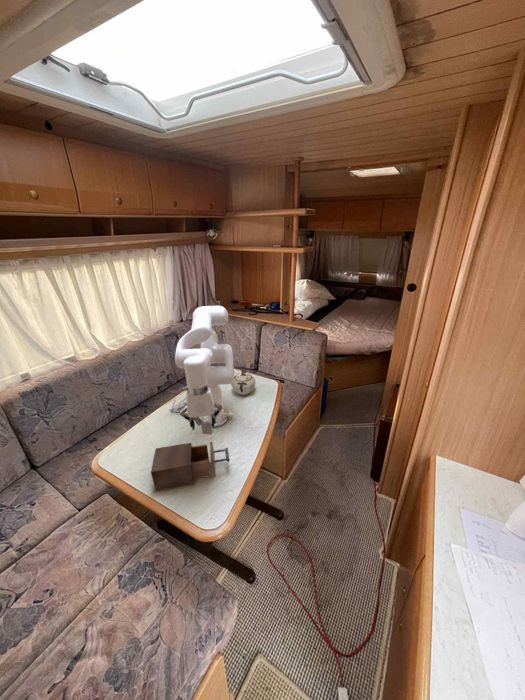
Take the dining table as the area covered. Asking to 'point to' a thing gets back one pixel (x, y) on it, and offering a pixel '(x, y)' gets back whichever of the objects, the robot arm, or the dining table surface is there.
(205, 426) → the lighter
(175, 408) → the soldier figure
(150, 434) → the dining table surface
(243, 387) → the sugar bowl
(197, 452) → the drawer
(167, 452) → the cabinet
